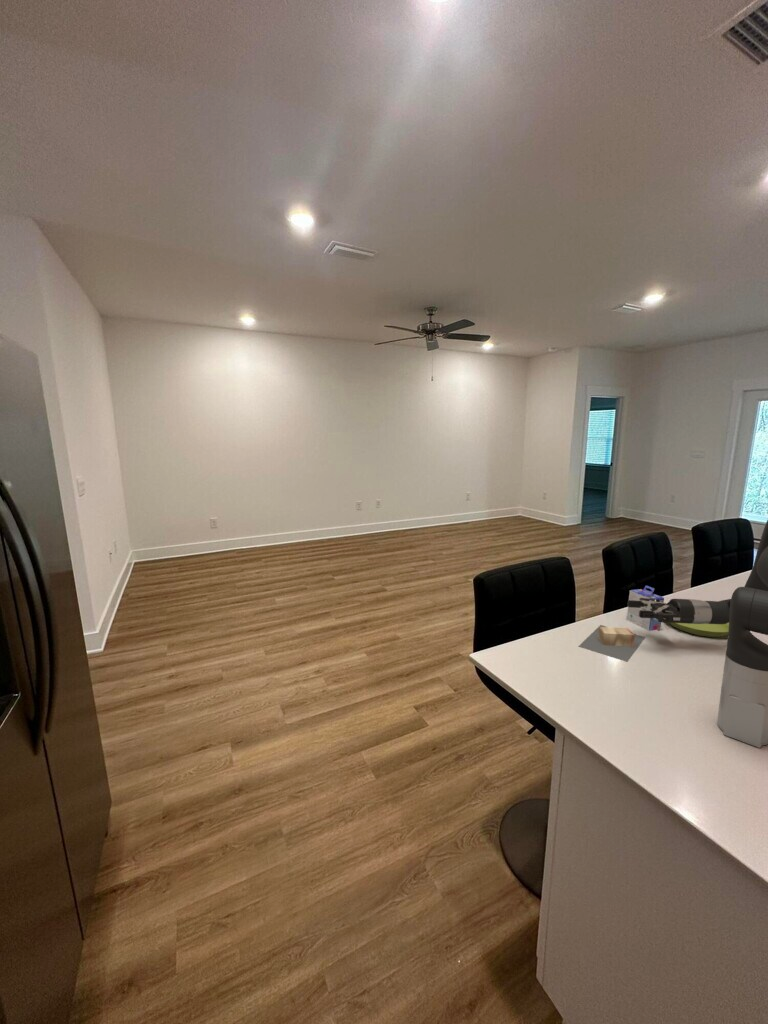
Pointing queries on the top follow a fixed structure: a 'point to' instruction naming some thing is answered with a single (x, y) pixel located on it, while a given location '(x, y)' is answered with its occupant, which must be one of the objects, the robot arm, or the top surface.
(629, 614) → the ink cartridge box
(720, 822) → the top surface
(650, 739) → the top surface
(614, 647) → the rubber mat
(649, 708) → the top surface
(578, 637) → the top surface
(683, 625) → the saucer
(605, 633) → the beech block
